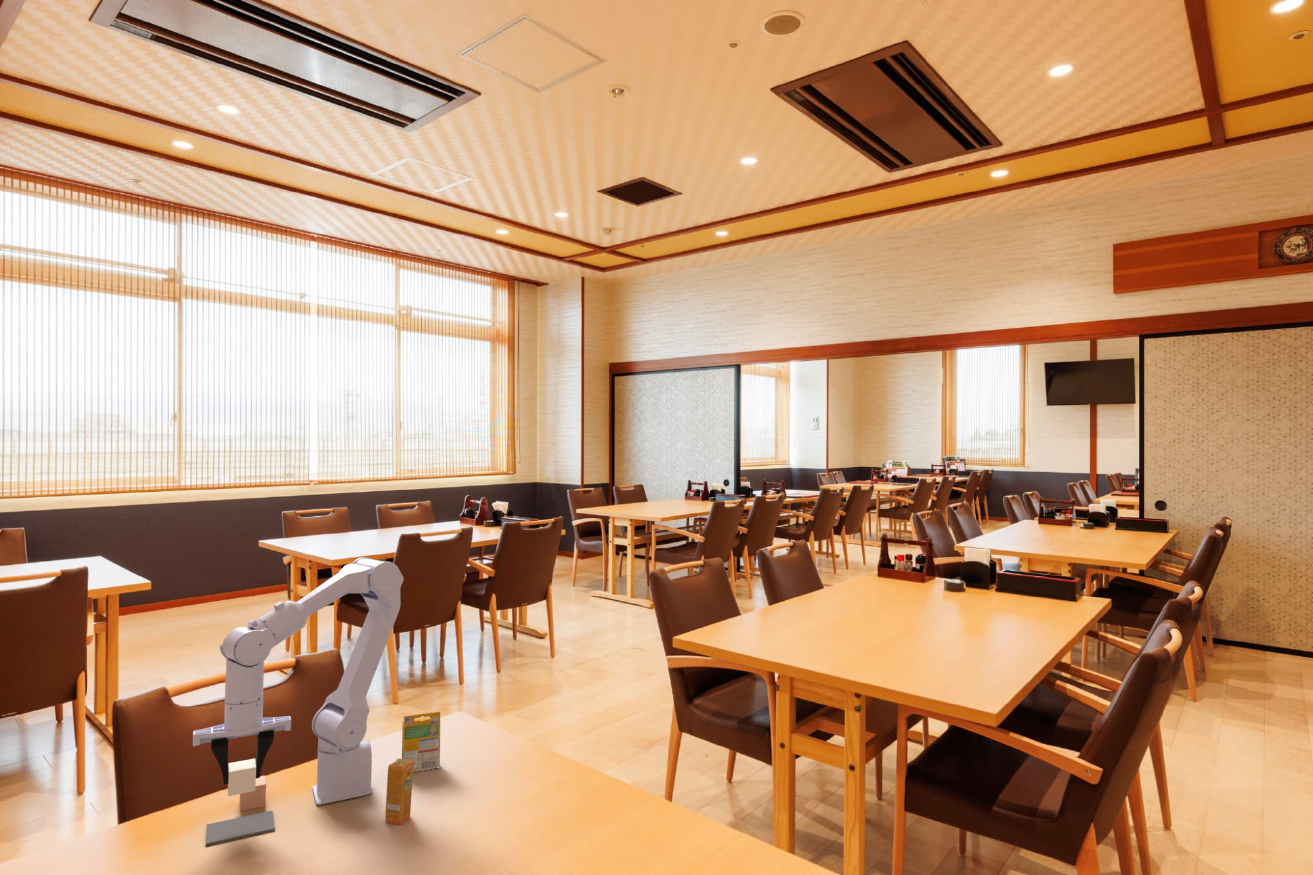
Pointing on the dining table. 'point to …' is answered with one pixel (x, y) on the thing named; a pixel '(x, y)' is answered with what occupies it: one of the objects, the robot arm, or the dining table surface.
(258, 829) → the build mat
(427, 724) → the crayon box
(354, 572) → the robot arm
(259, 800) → the terracotta block
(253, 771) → the cream block
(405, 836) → the dining table surface
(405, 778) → the supplement box
